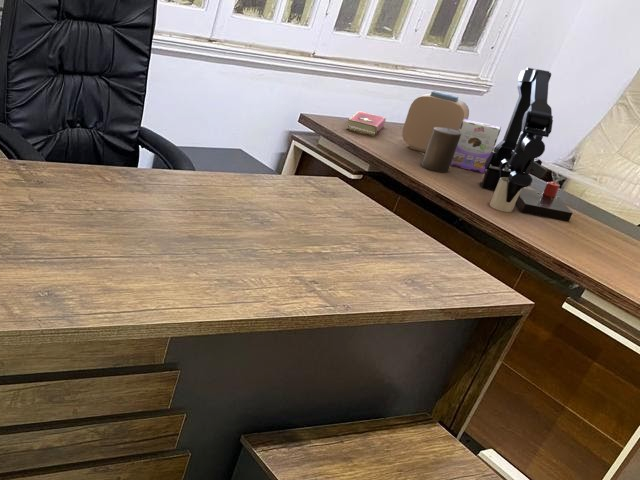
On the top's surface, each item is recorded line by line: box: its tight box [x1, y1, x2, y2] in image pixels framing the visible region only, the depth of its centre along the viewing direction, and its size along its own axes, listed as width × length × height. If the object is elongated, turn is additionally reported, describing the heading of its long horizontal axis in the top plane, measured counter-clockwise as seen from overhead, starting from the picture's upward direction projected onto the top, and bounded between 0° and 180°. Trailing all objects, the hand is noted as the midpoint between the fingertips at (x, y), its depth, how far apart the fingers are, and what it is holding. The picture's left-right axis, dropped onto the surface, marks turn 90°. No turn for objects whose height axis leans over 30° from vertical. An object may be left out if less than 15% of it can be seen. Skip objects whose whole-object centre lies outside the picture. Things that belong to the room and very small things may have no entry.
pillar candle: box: [421, 127, 461, 173], centre depth 285 cm, size 10×10×15 cm
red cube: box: [542, 180, 561, 197], centre depth 267 cm, size 4×4×4 cm
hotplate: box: [515, 187, 573, 223], centre depth 264 cm, size 16×21×3 cm
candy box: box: [450, 118, 502, 174], centre depth 292 cm, size 14×6×16 cm, turn 65°
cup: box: [489, 177, 522, 213], centre depth 256 cm, size 7×7×9 cm
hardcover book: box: [346, 110, 387, 137], centre depth 327 cm, size 12×21×4 cm, turn 155°
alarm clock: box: [401, 90, 470, 154], centre depth 305 cm, size 21×10×22 cm, turn 58°
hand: (505, 197), depth 257 cm, fingers open, 9 cm apart
